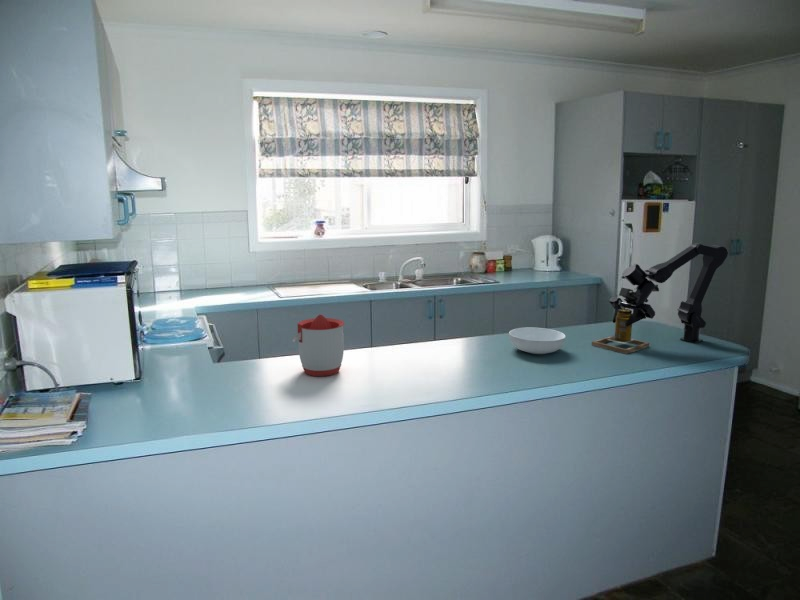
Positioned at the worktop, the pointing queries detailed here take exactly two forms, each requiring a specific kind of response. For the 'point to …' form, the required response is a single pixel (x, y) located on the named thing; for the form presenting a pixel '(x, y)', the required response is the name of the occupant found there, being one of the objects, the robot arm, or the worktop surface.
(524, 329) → the serving bowl
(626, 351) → the walnut frame
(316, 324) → the citrus juicer
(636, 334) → the worktop surface
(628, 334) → the condiment
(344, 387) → the worktop surface
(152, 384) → the worktop surface
